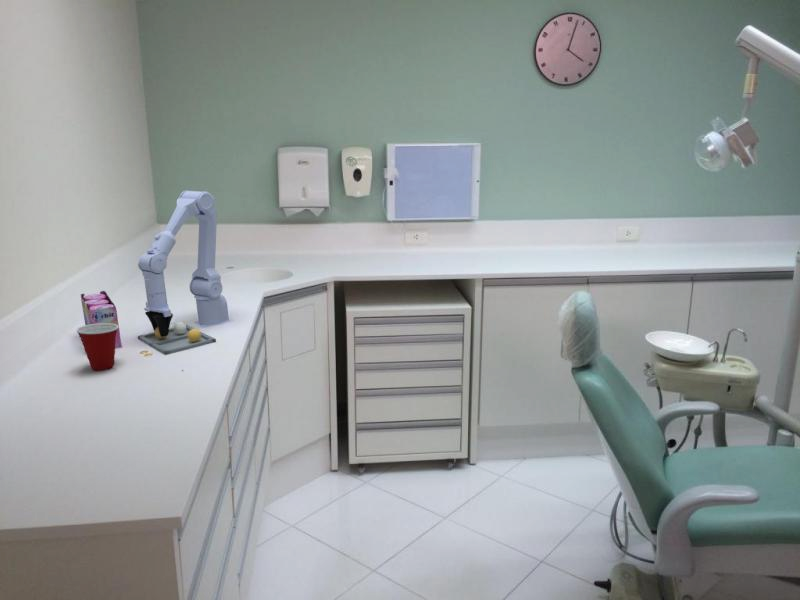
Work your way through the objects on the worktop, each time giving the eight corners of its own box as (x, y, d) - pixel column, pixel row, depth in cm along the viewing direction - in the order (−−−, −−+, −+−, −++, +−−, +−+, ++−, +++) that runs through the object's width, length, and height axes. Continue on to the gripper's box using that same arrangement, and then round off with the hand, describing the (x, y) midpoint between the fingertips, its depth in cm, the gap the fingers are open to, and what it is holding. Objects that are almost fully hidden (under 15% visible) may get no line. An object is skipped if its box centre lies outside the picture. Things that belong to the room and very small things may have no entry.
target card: (149, 349, 205) (149, 348, 205) (160, 356, 199) (159, 354, 199) (132, 353, 202) (132, 352, 202) (143, 360, 196) (142, 358, 196)
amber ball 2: (198, 338, 212) (196, 326, 211) (204, 341, 209) (202, 329, 208) (186, 341, 210) (184, 329, 208) (191, 344, 207) (190, 332, 206)
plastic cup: (132, 363, 194) (126, 323, 190) (99, 376, 185) (92, 334, 181) (107, 358, 199) (101, 318, 196) (74, 370, 190) (67, 329, 187)
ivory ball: (183, 331, 220) (182, 319, 219) (189, 334, 217) (187, 322, 216) (171, 334, 217) (170, 322, 216) (177, 337, 214) (175, 324, 213)
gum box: (85, 333, 223) (78, 293, 219) (111, 329, 227) (105, 289, 223) (94, 354, 203) (87, 310, 199) (122, 349, 207) (116, 305, 203)
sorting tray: (186, 328, 224) (186, 324, 224) (216, 343, 209) (215, 339, 208) (138, 340, 214) (137, 336, 214) (165, 356, 199) (164, 352, 198)
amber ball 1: (165, 335, 216) (164, 323, 215) (171, 338, 213) (169, 326, 212) (153, 338, 213) (151, 326, 212) (158, 341, 211) (156, 329, 209)
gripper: (134, 290, 212) (140, 332, 216) (152, 298, 201) (158, 342, 205) (156, 286, 216) (161, 327, 220) (175, 294, 206) (180, 337, 209)
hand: (161, 334), depth 213 cm, fingers closed on amber ball 1, 4 cm apart
